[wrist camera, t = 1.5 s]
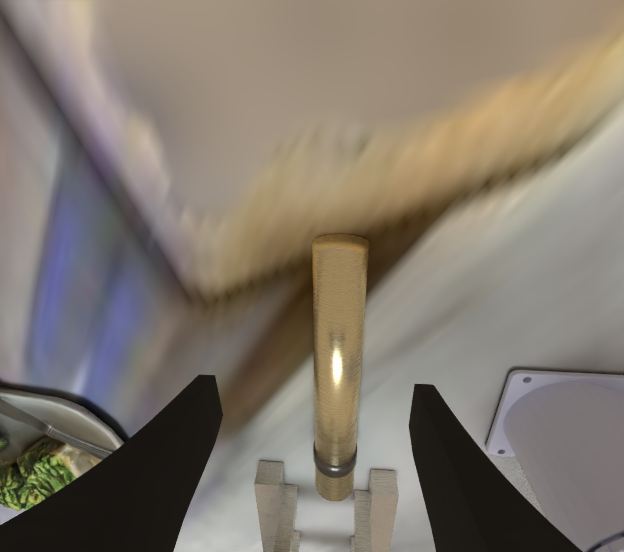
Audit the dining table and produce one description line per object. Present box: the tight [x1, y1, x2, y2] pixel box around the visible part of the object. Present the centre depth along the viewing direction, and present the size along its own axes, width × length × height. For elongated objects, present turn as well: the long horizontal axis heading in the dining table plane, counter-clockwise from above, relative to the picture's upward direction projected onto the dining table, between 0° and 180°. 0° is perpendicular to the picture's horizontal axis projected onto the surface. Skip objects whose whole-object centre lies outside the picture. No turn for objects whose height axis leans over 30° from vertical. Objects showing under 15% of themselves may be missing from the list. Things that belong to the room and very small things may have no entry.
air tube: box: [312, 234, 369, 501], centre depth 22 cm, size 3×20×3 cm, turn 1°
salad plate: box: [0, 387, 124, 511], centre depth 29 cm, size 19×18×5 cm
